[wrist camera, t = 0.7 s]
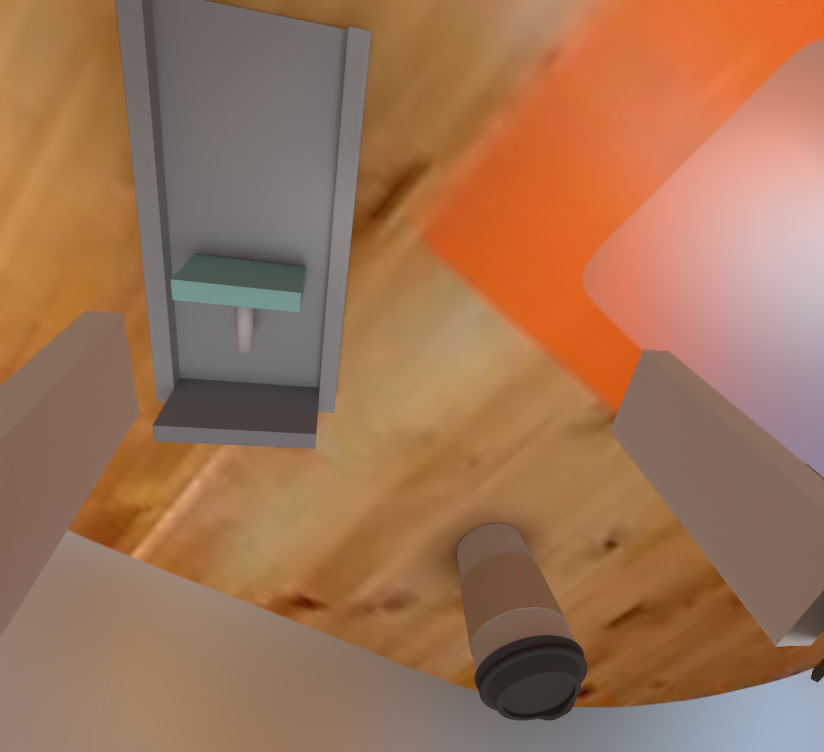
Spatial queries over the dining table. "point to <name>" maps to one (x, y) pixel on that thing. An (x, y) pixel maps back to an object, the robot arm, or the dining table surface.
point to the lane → (243, 206)
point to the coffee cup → (516, 628)
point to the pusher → (240, 288)
